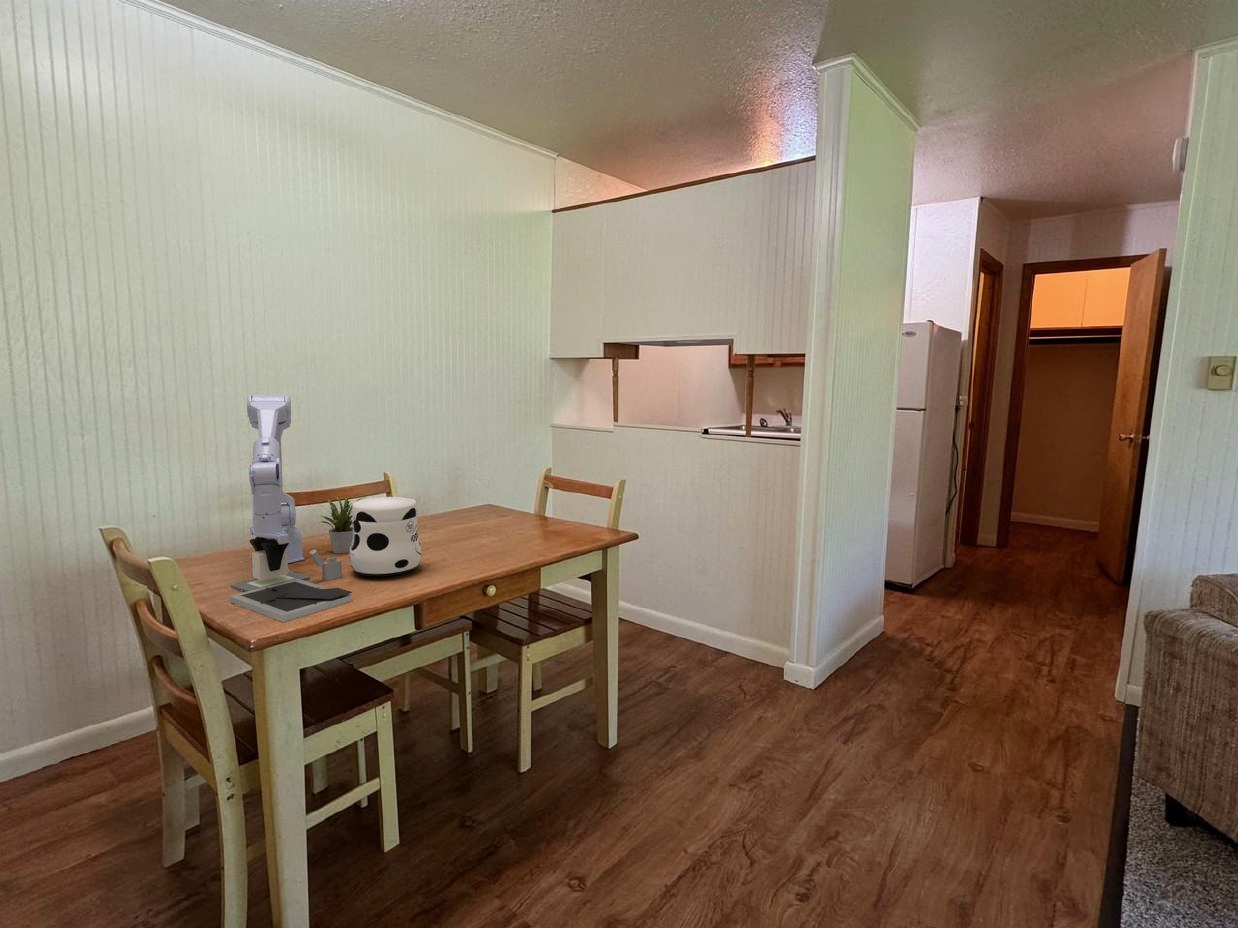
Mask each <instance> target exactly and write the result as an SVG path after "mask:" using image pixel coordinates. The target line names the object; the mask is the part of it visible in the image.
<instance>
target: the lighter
mask: <svg viewBox="0 0 1238 928" xmlns="http://www.w3.org/2000/svg"><path fill="white" fill-rule="evenodd" d="M308 553H309V555H310V557H311V558H312V560H313V562H314V563H315V565H316V567H319V568H321V571H322V573H321V574H322V580H323V582H327V581H328V582H329V581H332V580H337V579H341V578H343V574H342V573H343V572H342V571H343V570H342V560H341V559H338V557H336V556H332V557H331V556H330V557H326V561H323V559H322V557H321V556H320V554H319V552H318V550H316V549H314V548H313V549H311V550H310V551H309V552H308Z"/></svg>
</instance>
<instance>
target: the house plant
mask: <svg viewBox="0 0 1238 928" xmlns="http://www.w3.org/2000/svg"><path fill="white" fill-rule="evenodd" d="M335 498H336V499H337V501H338V503H339V508H340V512H339V511H338V510H339V509H338V507H337V505H336V504H335V503H334V502H332V501H331V500H330V499H326V501H327V502H328V504H329V505H330V507H329V508H330V510H331V513H330V512H329V514H331V515H330V516H331V517H332V518H330V517H328V516H324V515H320V517H321V518H323V519H324V520H327V521H324V520H321V521H319V524H320V523H323V524H326V525H330V527H331V528H330V529H329V530H328V535H329V539H330V543H331V549H332V552H333V553H334V554H349V552H350V547H351V543H352V539H353V529H352V518H353V517H352V505H353V502H351V500H349V499H348V496H346V497H345V498H344V504H343V502H342V501H341V499H340V498H339V496H338V495H335ZM362 499H367V496H364V497H360V498H358V499H356V500H355V501H354V502H356V501H359V500H362ZM350 502H351V503H350ZM317 506H320V507H322V508H324V506H323V505H321V504H318V503H317ZM325 510H326V511H328V510H327V509H326V508H325ZM328 521H329V522H328Z"/></svg>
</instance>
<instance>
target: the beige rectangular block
mask: <svg viewBox="0 0 1238 928" xmlns="http://www.w3.org/2000/svg"><path fill="white" fill-rule="evenodd" d="M251 560H252V577H253V578H254V579H259V580H263V579H268V578H272V577H276V576H281V575H285V574H288V571H289V563H288V558H287V549H285V552H284V554H283V558H282V562H281V567H280V570H276V571H270V570H269V567H268V561H267V556H266V553H265V551H264V550H262V551H257V552H256V551H253V552H251Z"/></svg>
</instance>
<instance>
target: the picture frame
mask: <svg viewBox="0 0 1238 928" xmlns="http://www.w3.org/2000/svg"><path fill="white" fill-rule="evenodd" d="M352 593H353V591H350V590H346V589H343V588H340V587H331V588H330V587H326V586H323V585H320V584H317V583H313V582H310V581H308V580H306V581H304V580H300V579H295V580H291V581H287V582H283V583H279V584H275V585H271V586H267V587H263V588H259V589H255V590H251V591H247V592H240V593H237V594H232V595H228V599H229V603H230V602H231V604H233V603H234V605H235V604H236V605H235V606H238V605H240V606H239V607H241V606H242V608H243V607H245V608H244V609H246V608H248V609H247V610H249V609H250V610H249V611H251V610H253V611H252V612H254V611H256V612H255V613H257V612H258V613H257V614H259V613H260V615H262V614H263V615H262V616H265V617H267V616H268V618H270V619H273V620H275V619H277V620H276V621H278V620H280V621H279V622H281V621H282V622H281V623H286V622H285V621H287V622H289V621H288V620H290V621H293V620H296V619H299V618H302V617H306V616H308V615H312V614H315V613H318V612H322V611H324V610H328V609H331V608H335V607H338V606H341V605H345V604H348V603H350V602H353V595H352ZM292 619H293V620H292Z"/></svg>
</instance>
